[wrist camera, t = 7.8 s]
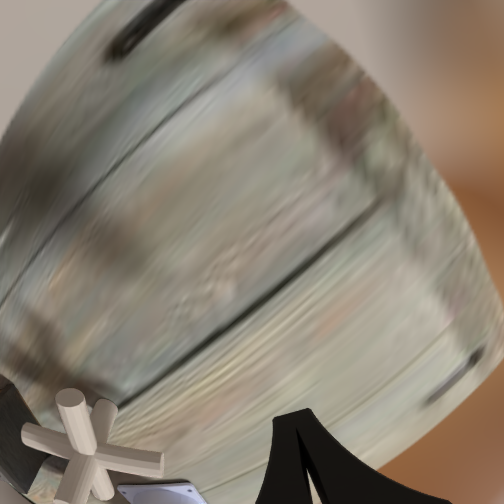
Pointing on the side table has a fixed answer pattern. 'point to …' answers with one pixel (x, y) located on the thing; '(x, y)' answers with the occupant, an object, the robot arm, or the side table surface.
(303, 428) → the robot arm
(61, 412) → the pipe connector
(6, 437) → the duct stub
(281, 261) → the side table surface
